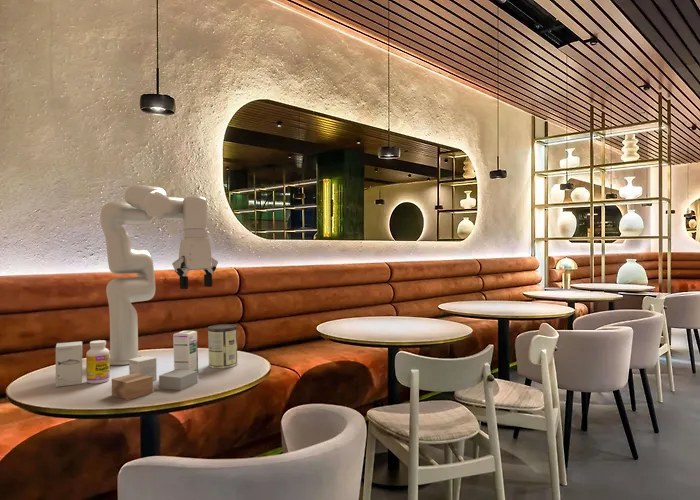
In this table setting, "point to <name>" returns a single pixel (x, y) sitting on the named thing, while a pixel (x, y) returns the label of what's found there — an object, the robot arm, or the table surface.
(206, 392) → the table surface
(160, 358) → the table surface
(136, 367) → the product box
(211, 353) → the coffee can
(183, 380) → the grey block
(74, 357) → the supplement box
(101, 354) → the supplement bottle
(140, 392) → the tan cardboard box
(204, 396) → the table surface
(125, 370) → the table surface
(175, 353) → the syrup box
